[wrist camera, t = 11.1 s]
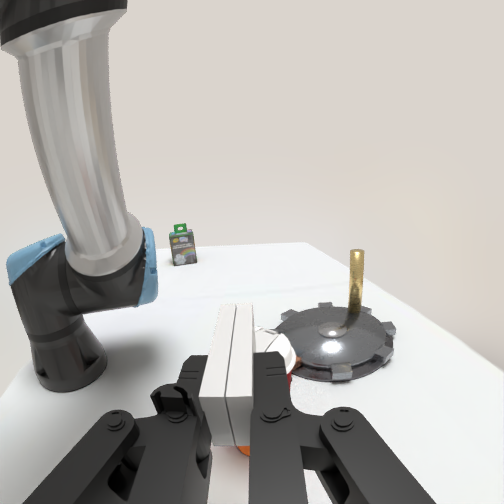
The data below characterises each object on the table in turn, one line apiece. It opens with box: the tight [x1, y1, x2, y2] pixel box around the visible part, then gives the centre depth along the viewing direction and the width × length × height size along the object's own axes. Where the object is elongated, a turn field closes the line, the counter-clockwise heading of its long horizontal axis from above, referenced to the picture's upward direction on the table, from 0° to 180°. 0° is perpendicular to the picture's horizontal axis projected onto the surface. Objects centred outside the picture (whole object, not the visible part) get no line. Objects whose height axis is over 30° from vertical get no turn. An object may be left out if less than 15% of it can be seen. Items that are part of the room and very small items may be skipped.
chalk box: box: [169, 223, 197, 266], centre depth 101 cm, size 9×9×15 cm
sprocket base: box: [276, 323, 393, 382], centre depth 44 cm, size 22×22×1 cm
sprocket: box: [269, 249, 396, 380], centre depth 43 cm, size 23×23×13 cm
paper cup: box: [235, 327, 296, 456], centre depth 24 cm, size 8×8×14 cm
